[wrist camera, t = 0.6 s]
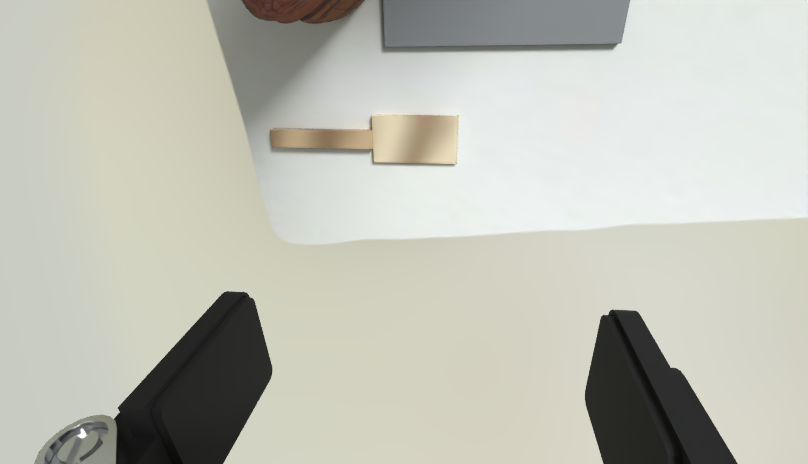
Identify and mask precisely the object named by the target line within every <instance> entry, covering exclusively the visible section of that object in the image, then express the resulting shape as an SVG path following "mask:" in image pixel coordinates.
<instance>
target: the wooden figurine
mask: <svg viewBox="0 0 808 464" xmlns="http://www.w3.org/2000/svg"><path fill="white" fill-rule="evenodd" d="M362 1H363V0H242V2H243V3H244V5H245V6H246V8H247V9H248V10H249V11H250V12H251V13H252V14H253V15H254V16H255V17H257V18H259V19H263V20H267V21H278V22H279V23H287V24H288V23H292V22H295V21H298V20H301V21H303V22H306V23H312V24H316V23H317V24H318V23H324V22H330V21H333V20H337V19H339V18H342V17H344V16H346V15H347V14H349V13H350V12H351V11H353V10H354V9H355V8H356V7H357V6H358V5H359V4H360V3H361V2H362Z"/></svg>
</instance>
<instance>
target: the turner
mask: <svg viewBox="0 0 808 464" xmlns="http://www.w3.org/2000/svg"><path fill="white" fill-rule="evenodd" d="M458 125H459V115H372V130H359V129H272V130H270V135H271V141H272V147H290V148H345V149H373V150H374V162H395V163H440V164H457V149H458Z"/></svg>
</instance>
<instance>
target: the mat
mask: <svg viewBox="0 0 808 464" xmlns="http://www.w3.org/2000/svg"><path fill="white" fill-rule="evenodd" d="M629 3H630V0H383V9H384V36H385V47H410V46H479V45H548V44H617V43H621V42H622V37H623V32H624V27H625V22H626V17H627V12H628V8H629Z"/></svg>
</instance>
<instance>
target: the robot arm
mask: <svg viewBox="0 0 808 464" xmlns="http://www.w3.org/2000/svg"><path fill="white" fill-rule="evenodd" d="M271 375H272V365H271V361H270V357H269V354H268V350H267V346H266V342H265V339H264V335H263V331H262V327H261V324H260V320H259V316H258V312H257V309H256V305H255V301H254V299H252V298H250V297H249V295H248V294H247V293H245V292H229V291H227V292H224V293H223V294H222V295H221V296H220V297H219V298H218V299H217V300H216V301H215V302H214V303H213V305H212V306H211V307H210V308H209V309H208V310H207V311H206V312H205V313H204V314H203V315H202V317H201V318H200V319H199V320H198V321H197V322H196V323H195V324H194V325H193V326H192V327H191V328H190V330H189V331H188V332H187V333H186V334H185V335H184V336H183V337H182V338H181V339H180V340H179V342H178V343H177V344H176V345H175V346H174V347H173V348H172V349H171V350H170V351H169V352H168V354H167V355H166V356H165V357H164V358H163V359H162V360H161V361H160V362H159V363H158V364H157V366H156V367H155V368H154V369H153V370H152V371H151V372H150V373H149V374H148V375H147V376H146V378H145V379H144V380H143V381H142V382H141V383H140V384H139V385H138V386H137V387H136V388H135V390H134V391H133V392H132V393H131V394H130V395H129V396H128V397H127V398H126V400H124V402H123V403H122V404H121V405H120V406H119V407H118V409H119V411H120V413H119V414H118V415H117V416H116V417H115V418H114V419H112V418H111V417H110V416H105V415H96V416H90V417H87V418H84V419H81V420H78V421H76V422H74V423H72V424H70V425H68V426H67V427H65V428H64V429H62V430H61V431H59V432H58V433H56V434H55V435H54V436H53V437H52V438H51V439H50V440H49V441H48V442H47V443H46V444H45V445H44V446H43V448H42V449H41V450H40V452H39V453H38V456H37V458H36V460H35V464H223V463H224V461H225V459H226V457H227V456H228V454H229V452H230V450H231V449H232V447H233V445H234V443H235V441H236V440H237V438H238V436H239V434H240V432H241V431H242V429H243V427H244V425H245V424H246V422H247V420H248V418H249V416H250V415H251V413H252V411H253V409H254V408H255V406H256V404H257V402H258V400H259V399H260V397H261V395H262V393H263V392H264V390H265V388H266V386H267V384H268V383H269V381H270V379H271ZM585 401H586V407H587V410H588V414H589V417H590V420H591V423H592V426H593V430H594V433H595V437H596V440H597V443H598V446H599V450H600V453H601V457H602V460H603V463H604V464H737V462H736V460H735V459H734V457H733V455H732V454H731V452H730V450H729V449H728V447H727V446H726V444H725V442H724V441H723V439H722V437H721V436H720V434H719V432H718V431H717V429H716V427H715V426H714V424H713V423H712V421H711V419H710V417H709V416H708V414H707V413H706V411H705V409H704V407H703V406H702V404H701V403H700V401H699V399H698V398H697V396H696V394H695V393H694V391H693V389H692V388H691V386H690V384H689V383H688V381H687V380H686V378H685V376H684V375H683V374H682V372H681V371H680V370H678V369H676V368H670V366H669V364H668V362H667V361H666V359H665V357H664V355H663V354H662V352H661V350H660V349H659V347H658V345H657V343H656V342H655V340H654V338H653V337H652V335H651V333H650V331H649V330H648V328H647V326H646V324H645V323H644V321H643V319H642V318H641V316H640V314H639V313H638V312H637V311H629V310H628V311H627V310H611V311H610V312H609V315H603V316H602V317H601V320H600V324H599V329H598V334H597V339H596V343H595V348H594V352H593V357H592V362H591V366H590V371H589V376H588V380H587V385H586V390H585Z"/></svg>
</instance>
